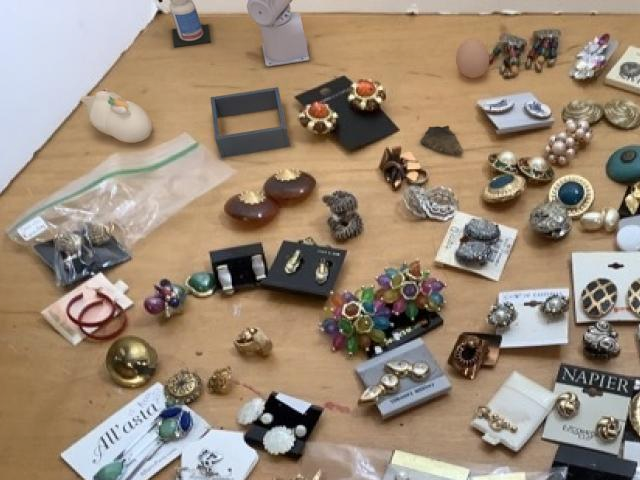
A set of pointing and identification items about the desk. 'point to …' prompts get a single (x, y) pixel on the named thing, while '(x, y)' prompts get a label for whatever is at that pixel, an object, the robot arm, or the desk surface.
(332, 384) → the desk surface
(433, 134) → the arrowhead
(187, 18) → the pill bottle
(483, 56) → the egg
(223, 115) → the open box
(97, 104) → the cat figurine
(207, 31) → the pad
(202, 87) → the desk surface
